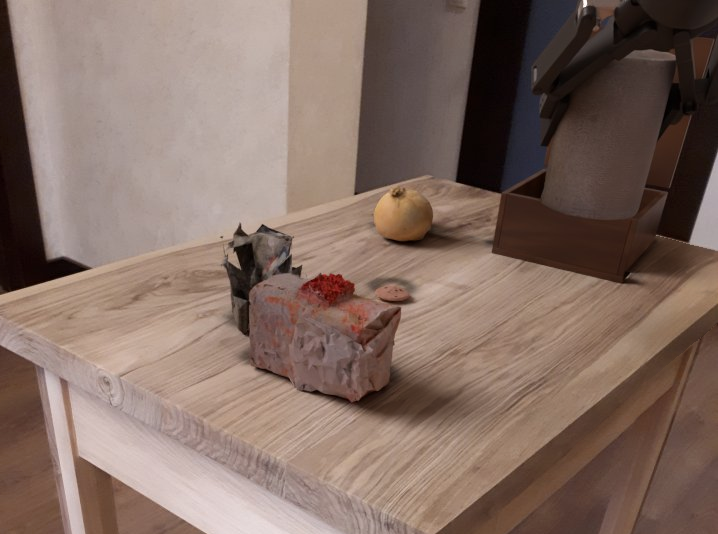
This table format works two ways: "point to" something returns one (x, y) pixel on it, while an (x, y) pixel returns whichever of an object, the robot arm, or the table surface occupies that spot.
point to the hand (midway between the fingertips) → (595, 136)
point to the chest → (573, 233)
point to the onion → (403, 215)
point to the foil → (256, 266)
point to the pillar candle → (609, 138)
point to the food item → (322, 334)
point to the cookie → (392, 293)
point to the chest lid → (674, 134)
